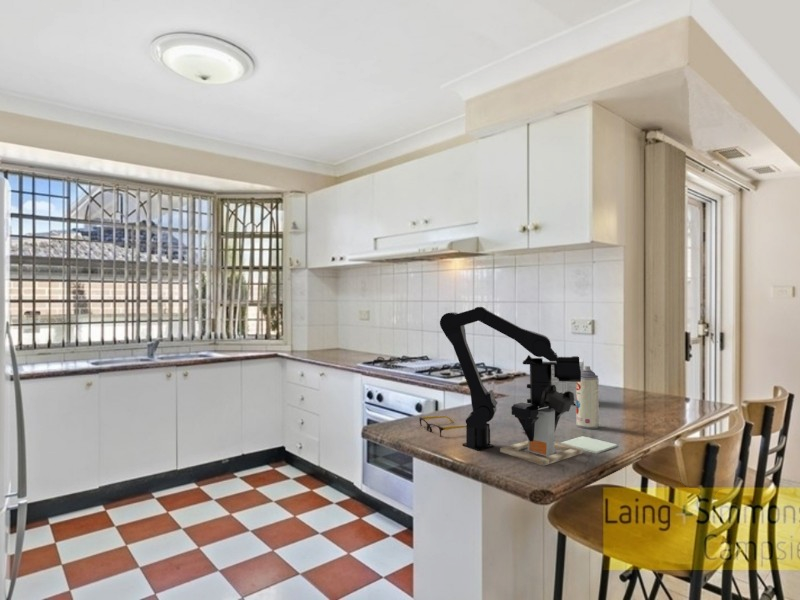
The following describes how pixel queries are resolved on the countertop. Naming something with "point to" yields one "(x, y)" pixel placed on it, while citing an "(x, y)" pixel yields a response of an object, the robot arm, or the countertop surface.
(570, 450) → the wooden frame
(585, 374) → the aerosol can
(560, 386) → the supplement box
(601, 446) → the sage mat
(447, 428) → the eyeglasses
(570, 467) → the countertop surface
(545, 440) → the skincare box
